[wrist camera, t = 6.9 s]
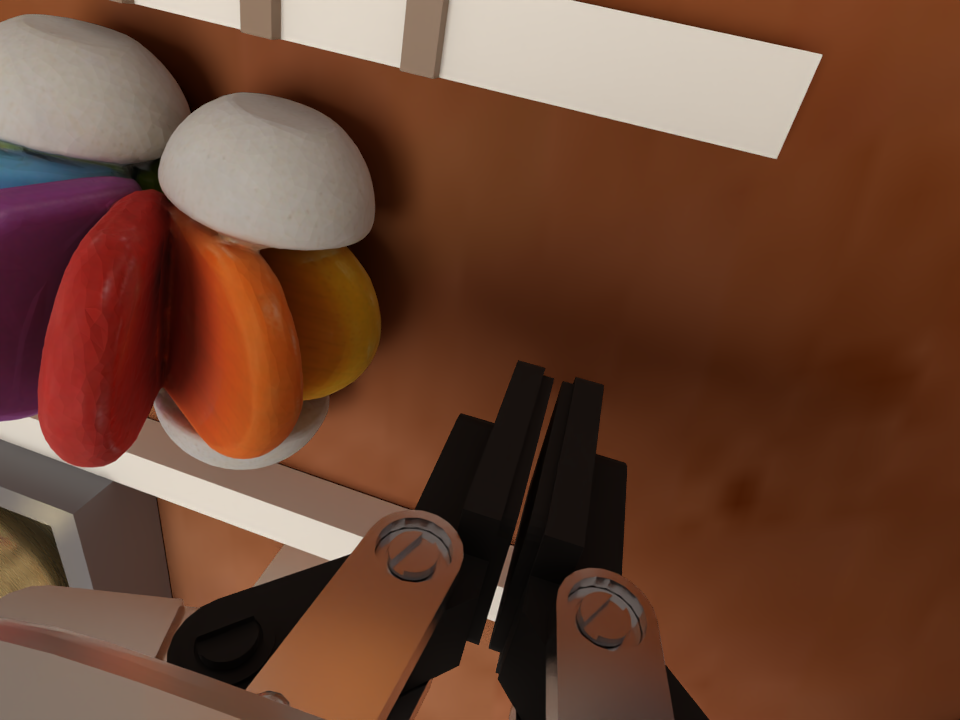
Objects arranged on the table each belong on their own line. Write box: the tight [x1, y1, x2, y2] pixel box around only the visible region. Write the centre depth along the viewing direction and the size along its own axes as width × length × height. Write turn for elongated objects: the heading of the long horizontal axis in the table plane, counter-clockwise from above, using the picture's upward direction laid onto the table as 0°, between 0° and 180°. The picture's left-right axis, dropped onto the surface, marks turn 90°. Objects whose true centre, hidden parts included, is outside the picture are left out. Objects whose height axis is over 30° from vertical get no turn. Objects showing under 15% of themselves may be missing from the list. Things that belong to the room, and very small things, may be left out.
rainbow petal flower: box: [0, 14, 381, 470], centre depth 12 cm, size 8×10×7 cm
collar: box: [0, 439, 172, 598], centre depth 21 cm, size 9×9×3 cm
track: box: [0, 0, 822, 621], centre depth 15 cm, size 28×15×2 cm, turn 79°
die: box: [253, 544, 330, 587], centre depth 19 cm, size 4×4×4 cm
